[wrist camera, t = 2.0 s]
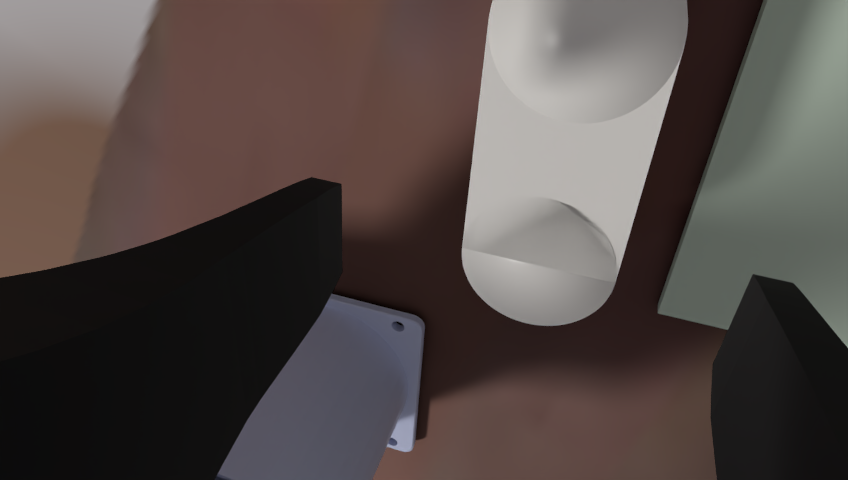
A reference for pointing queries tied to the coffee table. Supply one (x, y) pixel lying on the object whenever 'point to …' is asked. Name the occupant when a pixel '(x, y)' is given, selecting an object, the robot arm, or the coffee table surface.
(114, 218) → the coffee table surface
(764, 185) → the mat
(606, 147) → the connector
